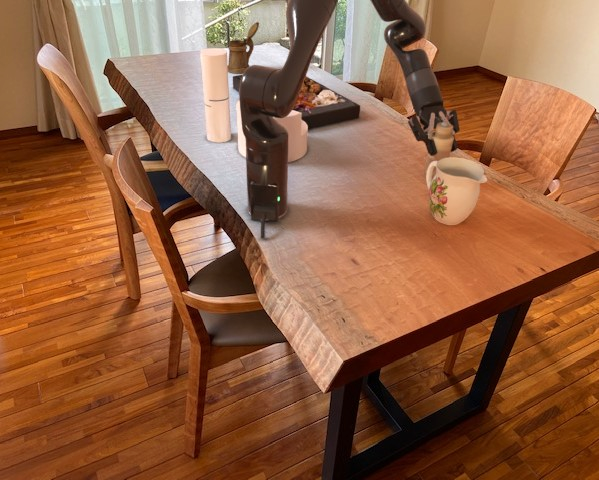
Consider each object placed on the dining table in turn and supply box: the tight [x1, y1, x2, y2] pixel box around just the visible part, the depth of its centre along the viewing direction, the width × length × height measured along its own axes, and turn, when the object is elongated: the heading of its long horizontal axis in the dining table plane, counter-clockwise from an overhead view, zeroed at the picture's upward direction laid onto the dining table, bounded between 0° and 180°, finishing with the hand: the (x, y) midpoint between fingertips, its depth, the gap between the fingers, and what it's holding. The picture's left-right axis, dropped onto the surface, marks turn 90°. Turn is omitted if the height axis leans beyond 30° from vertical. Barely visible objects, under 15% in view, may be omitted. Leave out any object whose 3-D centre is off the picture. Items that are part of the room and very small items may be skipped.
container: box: [235, 99, 309, 163], centre depth 141 cm, size 20×20×13 cm
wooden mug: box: [227, 21, 260, 74], centre depth 198 cm, size 9×14×18 cm, turn 112°
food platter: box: [232, 68, 361, 131], centre depth 172 cm, size 45×25×10 cm, turn 32°
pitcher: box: [425, 156, 488, 226], centre depth 114 cm, size 11×18×14 cm, turn 24°
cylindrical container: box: [199, 47, 232, 144], centre depth 142 cm, size 7×7×25 cm
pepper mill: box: [423, 121, 455, 177], centre depth 126 cm, size 6×6×14 cm
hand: (444, 152), depth 125 cm, fingers closed on pepper mill, 5 cm apart
